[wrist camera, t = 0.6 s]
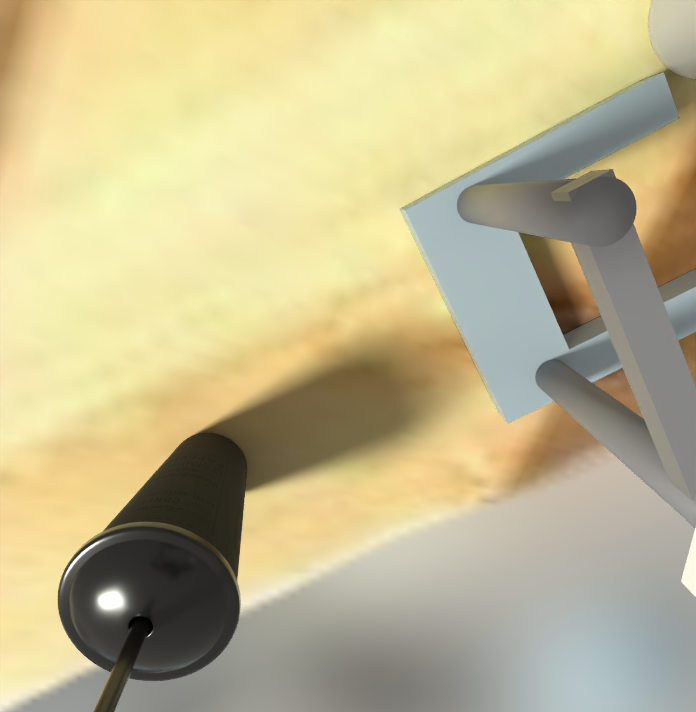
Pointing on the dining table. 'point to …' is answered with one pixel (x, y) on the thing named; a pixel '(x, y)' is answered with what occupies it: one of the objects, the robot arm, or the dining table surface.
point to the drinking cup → (162, 572)
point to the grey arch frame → (603, 274)
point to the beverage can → (674, 34)
